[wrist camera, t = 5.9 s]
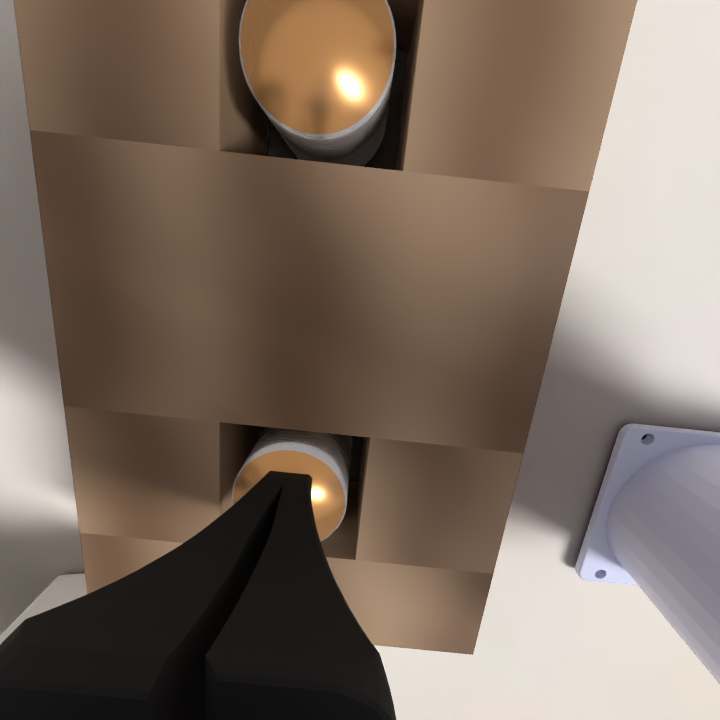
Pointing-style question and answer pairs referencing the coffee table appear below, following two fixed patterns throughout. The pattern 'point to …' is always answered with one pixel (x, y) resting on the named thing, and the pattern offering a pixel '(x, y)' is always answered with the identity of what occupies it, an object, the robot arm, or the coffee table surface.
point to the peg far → (303, 469)
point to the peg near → (321, 73)
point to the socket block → (312, 280)
